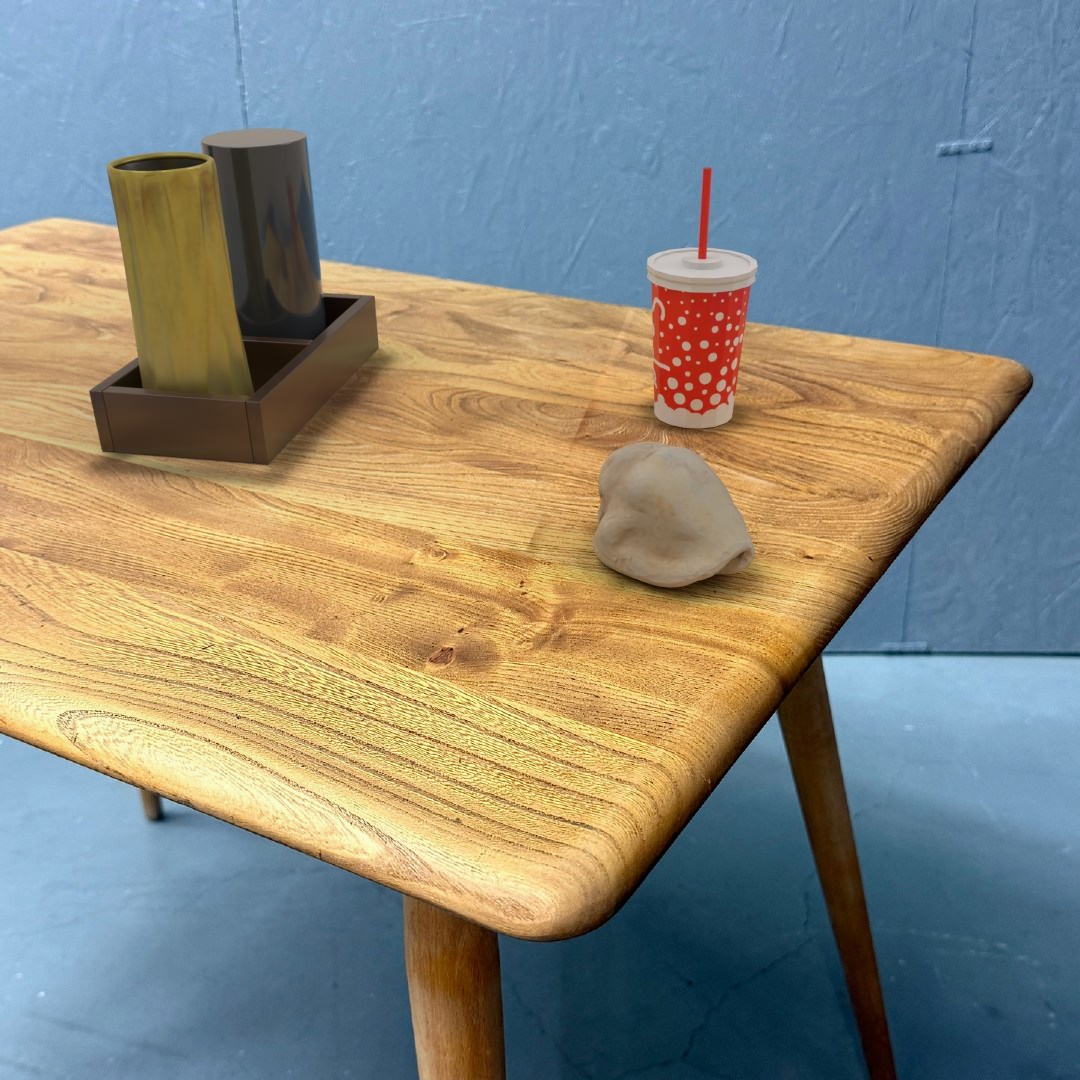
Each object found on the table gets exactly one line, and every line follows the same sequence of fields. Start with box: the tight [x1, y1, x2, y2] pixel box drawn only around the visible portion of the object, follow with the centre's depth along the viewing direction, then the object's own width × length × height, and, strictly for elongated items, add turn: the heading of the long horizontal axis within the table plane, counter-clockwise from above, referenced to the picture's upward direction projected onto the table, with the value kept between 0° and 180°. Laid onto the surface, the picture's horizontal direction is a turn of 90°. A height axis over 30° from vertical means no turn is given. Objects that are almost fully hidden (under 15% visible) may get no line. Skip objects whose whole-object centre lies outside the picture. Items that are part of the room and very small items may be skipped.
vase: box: [106, 151, 254, 396], centre depth 61 cm, size 6×6×14 cm
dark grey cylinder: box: [199, 127, 327, 340], centre depth 70 cm, size 6×6×14 cm
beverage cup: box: [646, 166, 759, 429], centre depth 65 cm, size 6×6×14 cm
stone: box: [592, 440, 756, 588], centre depth 53 cm, size 7×6×8 cm
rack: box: [88, 292, 380, 466], centre depth 69 cm, size 10×18×4 cm, turn 169°
